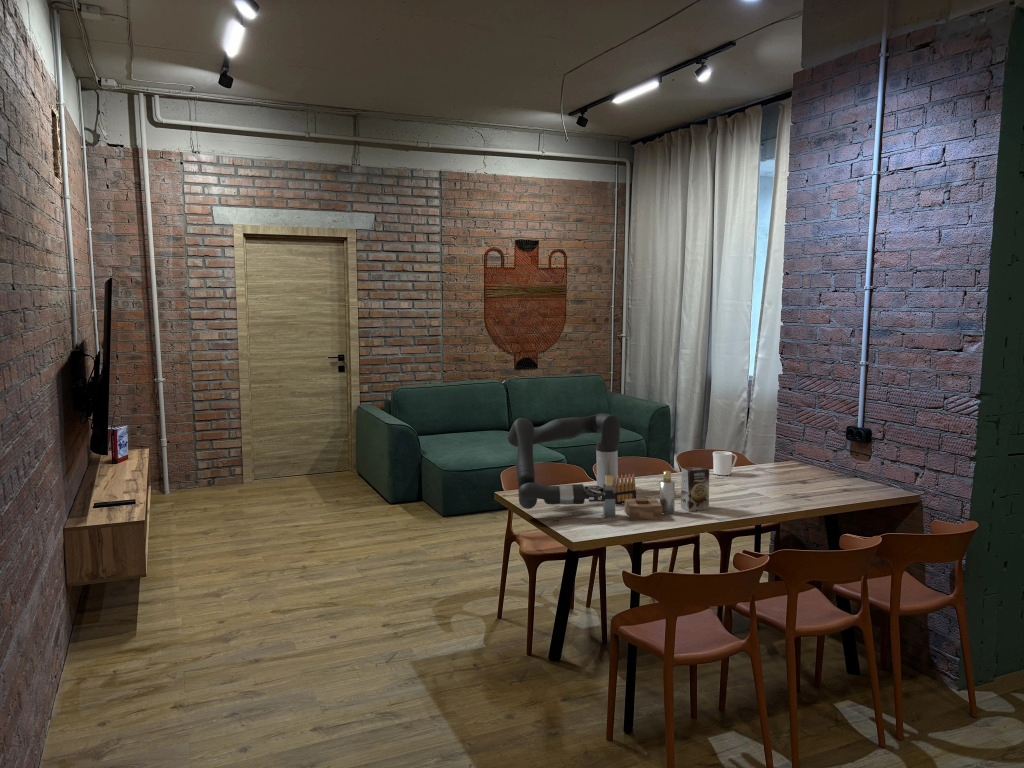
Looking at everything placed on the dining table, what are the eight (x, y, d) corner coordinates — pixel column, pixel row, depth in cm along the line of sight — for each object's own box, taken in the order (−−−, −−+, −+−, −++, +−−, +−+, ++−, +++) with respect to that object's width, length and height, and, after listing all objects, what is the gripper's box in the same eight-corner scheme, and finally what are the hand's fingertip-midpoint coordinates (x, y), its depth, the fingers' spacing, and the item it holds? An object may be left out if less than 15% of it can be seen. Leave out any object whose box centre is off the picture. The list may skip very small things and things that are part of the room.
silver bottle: (658, 510, 281) (658, 470, 280) (672, 510, 281) (672, 469, 280) (661, 514, 276) (661, 473, 274) (676, 514, 276) (676, 473, 274)
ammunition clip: (634, 501, 296) (634, 472, 295) (636, 502, 294) (636, 473, 293) (611, 504, 292) (611, 475, 291) (613, 505, 290) (613, 476, 289)
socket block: (624, 511, 281) (624, 498, 281) (655, 510, 281) (655, 497, 281) (630, 520, 269) (630, 507, 269) (662, 519, 269) (662, 506, 269)
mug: (712, 476, 337) (712, 454, 336) (712, 471, 345) (713, 450, 344) (736, 477, 333) (737, 455, 332) (736, 472, 342) (736, 451, 341)
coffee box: (688, 511, 278) (689, 470, 277) (680, 507, 285) (680, 467, 283) (709, 509, 281) (710, 468, 279) (700, 505, 287) (701, 465, 286)
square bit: (603, 514, 277) (602, 474, 275) (613, 514, 277) (613, 473, 275) (604, 517, 273) (604, 476, 271) (615, 517, 273) (615, 476, 271)
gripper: (569, 499, 281) (610, 497, 282) (573, 509, 267) (617, 507, 267) (569, 480, 280) (610, 479, 281) (573, 489, 266) (616, 487, 267)
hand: (613, 493), depth 274 cm, fingers open, 8 cm apart
